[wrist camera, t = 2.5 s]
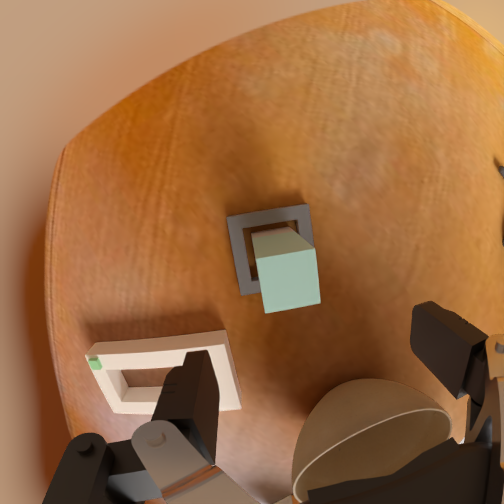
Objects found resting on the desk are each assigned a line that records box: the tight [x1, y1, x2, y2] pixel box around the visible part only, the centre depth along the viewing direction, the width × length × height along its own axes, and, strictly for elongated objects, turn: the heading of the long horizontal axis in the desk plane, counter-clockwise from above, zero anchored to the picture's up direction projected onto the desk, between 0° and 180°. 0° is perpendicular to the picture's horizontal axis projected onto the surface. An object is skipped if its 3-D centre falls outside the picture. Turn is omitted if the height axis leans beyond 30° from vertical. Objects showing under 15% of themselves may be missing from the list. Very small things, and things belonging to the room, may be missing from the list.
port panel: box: [85, 329, 242, 414], centre depth 28 cm, size 16×9×4 cm, turn 99°
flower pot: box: [292, 379, 452, 503], centre depth 26 cm, size 18×18×12 cm
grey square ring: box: [226, 203, 314, 296], centre depth 27 cm, size 7×7×1 cm
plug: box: [251, 226, 321, 314], centre depth 22 cm, size 4×4×10 cm
